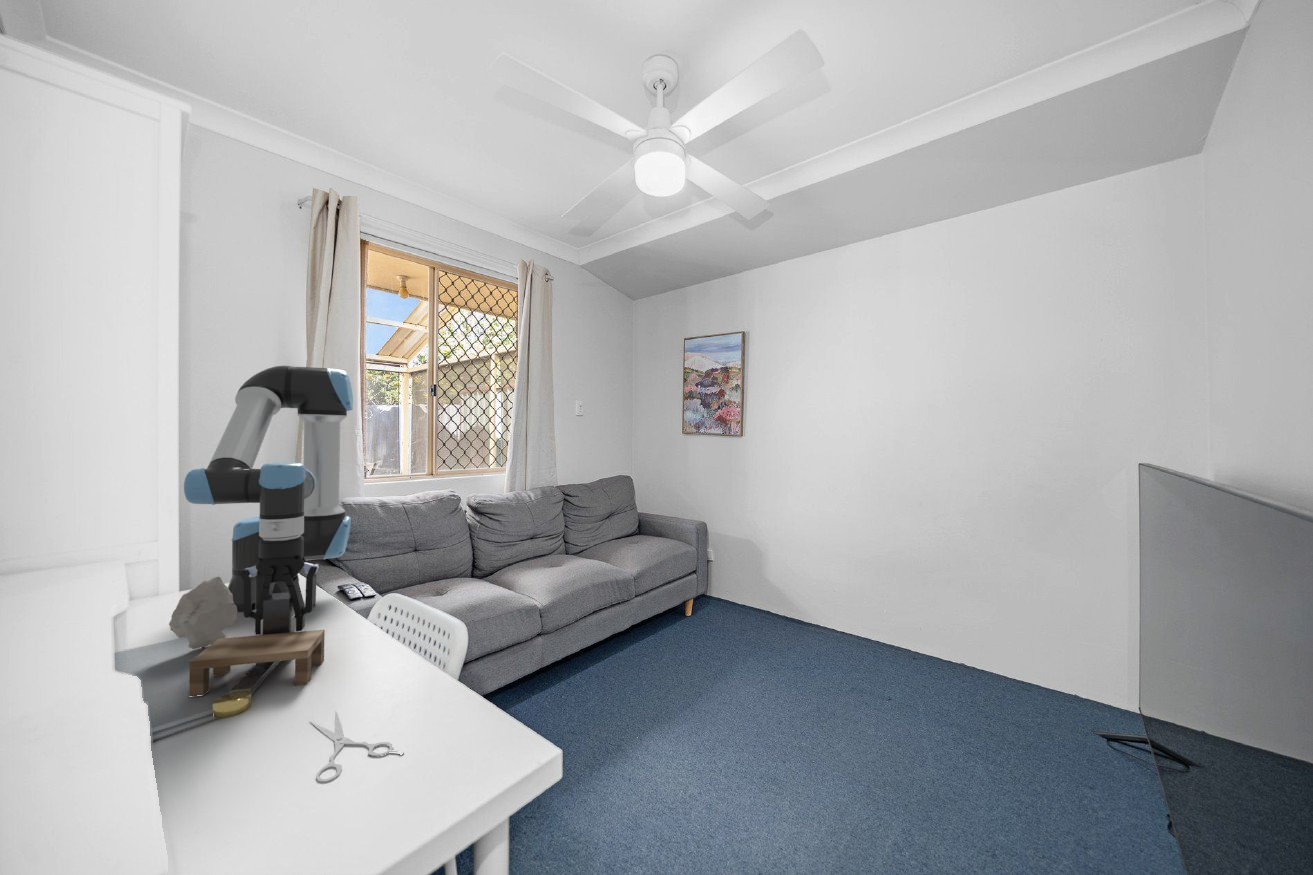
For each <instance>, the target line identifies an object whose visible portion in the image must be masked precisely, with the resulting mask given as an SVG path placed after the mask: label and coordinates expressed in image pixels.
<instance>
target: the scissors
mask: <svg viewBox="0 0 1313 875" xmlns="http://www.w3.org/2000/svg"><path fill="white" fill-rule="evenodd" d="M309 723H310V724H312V726H314V727H315V728H316V729H317V730H318V731H320V733H321V734H323V735H324V736H325V737H327V738H328V739H330V740H331V741H332V742H333V743H334V748H335V749H334V752H333V754H332V755H331V756H329V762H328V763H327V764H326V765H325V766H323V767H321V768H320V769H319V771H318V772H317V773H316V776H315V779H316V781H317V782H319V783H322V784H323V783H324V784H325V783H329V782H332V781H334V780H336V779H337V778H338V777H339V776H340V775H341V773H342V770H343V765H342V764H339V763H335V759H336V757H337V755H338V754H339V753H340V752H341V751H342V750H343V748H344V747H345V746H346V747H347V746H349V747H363V746H366V747H365V748H366V749H367V750H368V752H367V756H369V755H371V756H381V755H385V754H388V753H389V752H397V751H398V750H397V751H392V749H393V750H394V746H393V747H392V745H393V743H391V742H389V741H382V742H378V743H368V742H366V741H363V742H362V741H361V742H358V741H356V742H355V741H354V740H352V739H351V738H349V737H345V734H344V730H343V727H342V722H341V721H340V717H339V714H338V712H337V711H335V720H334V731H332V730H330V729H327V728H326V727H323V726H321V725H319V724H316V723H314V722H312V721H310V720H309ZM379 745H388V746H389V747H388V748H389V749H387V751H384V752H380V753H377V752H375V751H374V750H375V749H376V748H377V747H376V746H379ZM375 747H376V748H375ZM379 747H380V746H379ZM373 749H374V750H373ZM390 750H391V751H390ZM388 755H389V754H388ZM371 756H370V757H371ZM385 756H386V755H385ZM328 769H336V772H335V774H334V775H333V776H331V777H328V778H321V777H320V776H321V774H322V773H323V772H324V771H326V770H328Z"/></svg>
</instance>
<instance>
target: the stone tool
mask: <svg viewBox="0 0 1313 875" xmlns="http://www.w3.org/2000/svg"><path fill="white" fill-rule="evenodd" d="M233 604H234V602H233V594H232V593H231V592H230V590H229V589H228V585H227V586H226V585H225V583H224V582H223V580H222V578H221V576H216V577H213V578H211V579H209V580H203V581H202V582H201V583H200V584H198V585H197V586H196V587H195V588H192V589H191V590H189V591H188V592H185V593H184V594H182V596H181V597H180V599H179V600H178V602H177V605H176V607H175V609H174V610H173V612H172V614H171V619H170V621H169V623H168V625H169V629H170V631H171V632H173V633H174V634H175V636H176V637H177V638H179V639H180V638H181V639H182V638H185V639H187V640H188V642H189V643H188V648H189V649H191V650H197V649H199V648H200V647H205V648H207V647H209V646H210V645H211V644H213V643H214V642H215V641H216V640H218V639H220V638H227V634H226V633H225V632H224V631H223V629H224V628H226V627H229V626H231V625H233V624H234V623H235V622H236V620H237V618H238V611H237V607H236V605H233Z"/></svg>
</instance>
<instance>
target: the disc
mask: <svg viewBox="0 0 1313 875" xmlns="http://www.w3.org/2000/svg"><path fill="white" fill-rule="evenodd" d="M251 707H252V694H250V693H249V692H236V693H231V694H230V693H228V694H226V695H222V696H221V697H219V698H217V699H215V701H213V703H212V714H213V713H214V717H213V718H214V719H227V718H233V717H235V716H238V715H241V714H243V713H245V712H247V711H248V710H249V709H250V708H251Z"/></svg>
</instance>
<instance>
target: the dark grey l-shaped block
mask: <svg viewBox="0 0 1313 875" xmlns="http://www.w3.org/2000/svg"><path fill="white" fill-rule="evenodd" d="M291 598H292V597H290V594H289V592H287V593H272V595H271V596H270V597H268V598H267V599H265V600H263V635H267V634H279V633H290V632H291V618H292V617H293V616H294V615H295V613H294V609H293V605H292V601H291ZM280 662H281V661H274V662H264V663H254V666H253V667H251V668H250V669H249V670H248V672H246V673H245V675H244V676H243V677H242V678H241V679H240V680H239V681H238V682H236V684H235V685H234V686H233V687H232V688H231V689H230V690H229V694H231V693H236V692H249V693H250V694H251V695H252V694H253V693H254V692H255V690H257V688H258V687H259V686H260V685H261V684H262V683H263V681H264V680H265V679H266V678H267V677H268V676H269V675H270V674H271V673H272V672H273V671H274V669H275V668H276V666H278V665H279V664H280Z"/></svg>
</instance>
